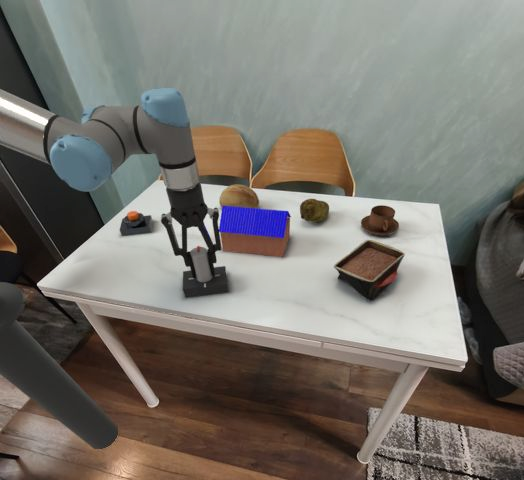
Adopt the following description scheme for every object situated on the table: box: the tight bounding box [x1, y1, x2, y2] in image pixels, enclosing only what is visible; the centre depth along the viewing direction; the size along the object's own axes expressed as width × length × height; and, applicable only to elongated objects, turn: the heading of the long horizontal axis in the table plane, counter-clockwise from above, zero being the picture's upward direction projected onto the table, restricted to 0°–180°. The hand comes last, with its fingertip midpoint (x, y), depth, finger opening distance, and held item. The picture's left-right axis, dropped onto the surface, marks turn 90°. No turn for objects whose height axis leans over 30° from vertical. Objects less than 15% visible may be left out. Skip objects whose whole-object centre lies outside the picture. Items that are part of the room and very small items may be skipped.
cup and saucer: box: [360, 204, 400, 236], centre depth 99 cm, size 12×12×6 cm
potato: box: [299, 198, 330, 223], centre depth 103 cm, size 8×13×8 cm, turn 118°
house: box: [218, 206, 292, 258], centre depth 94 cm, size 12×20×12 cm, turn 76°
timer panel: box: [182, 265, 230, 299], centre depth 85 cm, size 12×9×3 cm
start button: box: [126, 210, 139, 221], centre depth 104 cm, size 4×4×2 cm
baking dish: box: [333, 239, 406, 302], centre depth 82 cm, size 14×18×10 cm
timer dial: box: [190, 245, 212, 282], centre depth 81 cm, size 4×4×8 cm
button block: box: [119, 212, 154, 237], centre depth 106 cm, size 10×8×4 cm
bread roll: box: [218, 183, 260, 209], centre depth 111 cm, size 10×15×8 cm, turn 81°
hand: (203, 273), depth 83 cm, fingers closed on timer dial, 4 cm apart
